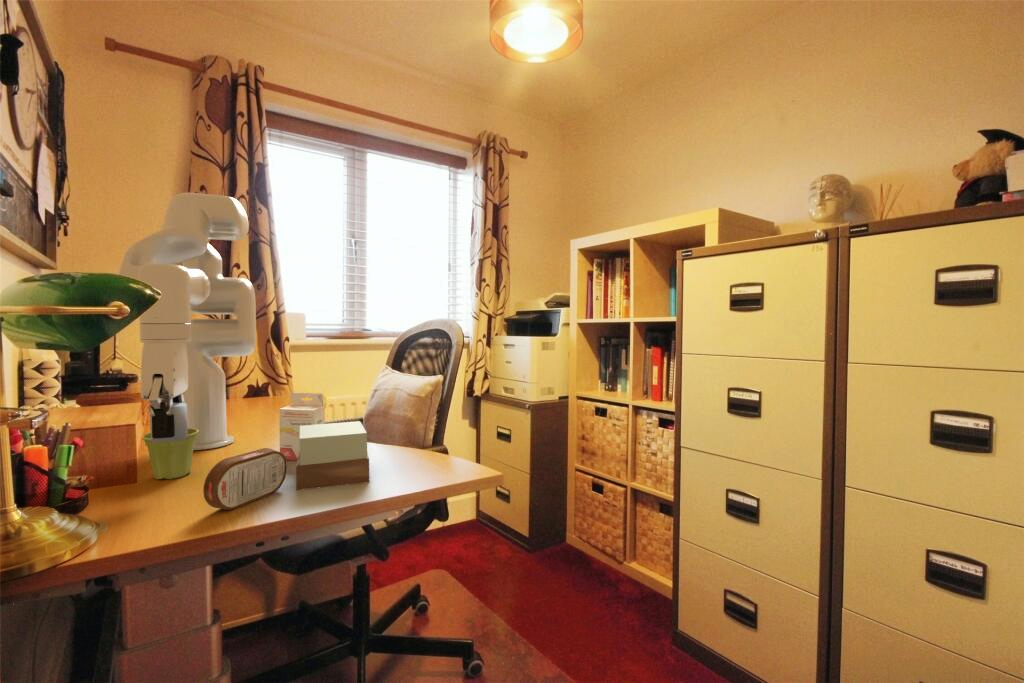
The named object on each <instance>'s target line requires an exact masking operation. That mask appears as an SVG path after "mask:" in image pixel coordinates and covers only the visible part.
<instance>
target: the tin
mask: <svg viewBox="0 0 1024 683" xmlns="http://www.w3.org/2000/svg"><path fill="white" fill-rule="evenodd" d="M287 461H288V460H286V458H285V456H284V455H283V454H282V453H281V452H280V450H279V451H278V450H275V449H272V448H268V447H265V448H259V449H256V450H253V451H248V452H245V453H241V454H238V455H234V456H233V455H232V456H229V457H226V458H224V459H222V460H220V461H218V462H217V463H216V464H215V465H214V466H212V468H211V469H210V471H209V472H208V474H207V475H206V476H205V480H204V484H203V490H202V491H203V492H202V493H203V498H204V500H205V502H206V504H207V505H209V506H210V507H212V508H215V509H220V510H224V511H231V510H235V509H237V508H240V506H241V507H243V506H246V505H248V504H250V503H253V502H255V501H258V500H261V499H263V498H266V497H268V496H271V495H273V494H274V493H276V492H277V491H278V490H279V489H281V487H282V485H283V483H284V482H285V479H286V477H287V469H288V463H287Z"/></svg>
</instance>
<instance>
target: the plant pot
mask: <svg viewBox="0 0 1024 683" xmlns="http://www.w3.org/2000/svg"><path fill="white" fill-rule="evenodd" d="M198 432H199V430H198V429H194V428H188V437H187V438H185V439H182V440H177V441H171V442H152V441H151V432H149V433H148V432H147V433H146V434H143V435H142V436H141V439H142V440H143V441H144V443H145V446H146V447H147V451H148V456H149V461H150V464H151V470H152V475H153V478H154V479H155V480H158V479H160V480H162V479H166V480H174V479H178V478H182V477H184V476H186V475H187V474H190V473H191V471H192V463H193V454H194V450H193V447H194V441H195V439H196V434H197V433H198ZM173 478H174V479H173Z"/></svg>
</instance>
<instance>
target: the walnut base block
mask: <svg viewBox="0 0 1024 683" xmlns="http://www.w3.org/2000/svg"><path fill="white" fill-rule="evenodd" d="M369 457H370V456H369V452H367V458H366V459H356V460H347V461H337V462H328V463H319V464H309V465H300V452H299V456H298V460H297V461H296V465H295V476H296V478H295V480H296V481H295V482H296V484H295V485H296V491H300V490H301V489H302V490H310V489H319V488H318V487H320V488H327V486H330V487H338V486H337V485H339V486H347V485H346V484H348V485H355V484H356V485H357V484H365V483H364V482H367V483H370V458H369Z"/></svg>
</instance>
